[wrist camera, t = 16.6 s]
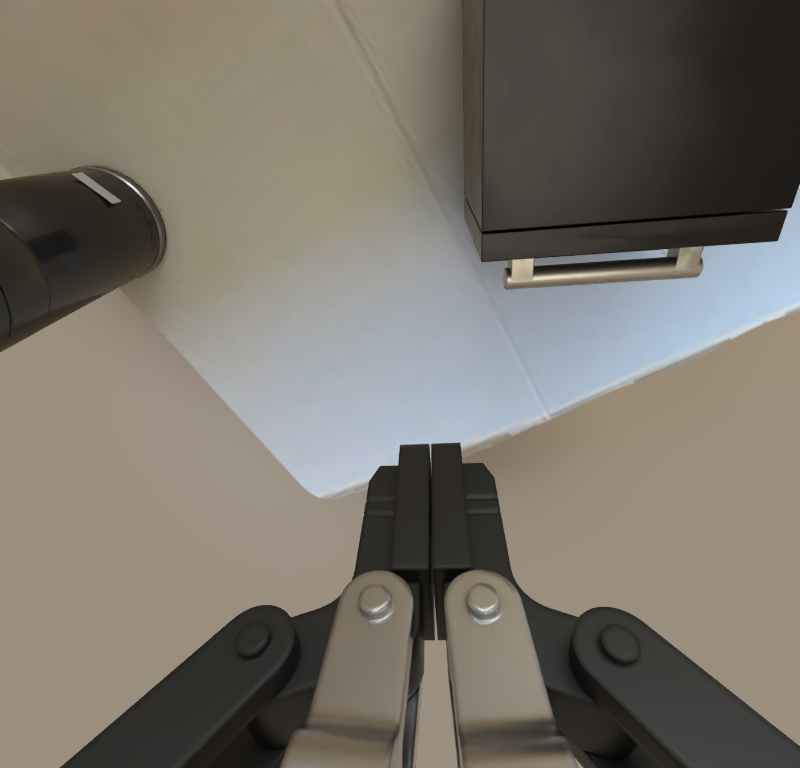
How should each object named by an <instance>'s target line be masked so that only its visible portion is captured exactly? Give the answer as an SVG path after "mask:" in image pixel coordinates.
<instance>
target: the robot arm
mask: <svg viewBox="0 0 800 768" xmlns="http://www.w3.org/2000/svg"><path fill="white" fill-rule="evenodd" d="M165 245H166V235H165V229H164V225H163V221H162V219H161V216H160V214H159V212H158V210H157V208H156V206H155V205H154V203H153V202H152V200H151V199H150V197H149V196H148V195H147V194H146V193H145V192H144V190H143V189H142V188H140V187H139V186H138V185H137V184H136V183H135V182H134V181H132V180H131V179H129V178H128V177H126V176H125V175H123V174H121V173H119V172H117V171H115V170H112V169H109V168H105V167H100V166H86V167H79V168H75V169H72V170H69V171H62V172H53V173H46V174H40V175H33V176H26V177H19V178H12V179H6V180H0V352H1V351H3V350H5V349H7V348H9V347H11V346H13V345H14V344H16V343H18V342H20V341H22V340H23V339H25V338H27V337H29V336H31V335H33V334H34V333H36V332H38V331H39V330H41V329H43V328H45V327H47V326H48V325H50V324H52V323H54V322H56V321H58V320H59V319H61V318H63V317H65V316H67V315H68V314H70V313H72V312H74V311H76V310H78V309H80V308H81V307H83V306H85V305H87V304H88V303H91V302H92V301H94V300H96V299H98V298H100V297H102V296H103V295H105V294H107V293H109V292H111V291H113V290H114V289H116V288H118V287H120V286H122V285H124V284H126V283H127V282H129V281H131V280H133V279H135V278H138V277H141V276H143V275H145V274H146V273H148V272H150V271H151V270H153V269H154V268H155V267H156V266H157V265H158V264H159V262H160V261H161V259H162V257H163V254H164V251H165ZM431 460H432V477H431V462H430V448H429V444H414V445H400V452H399V464H398V466H380V467H379V468H378V470H377V471H376V473H375V474H374V475H373V477H372V478H371V480H370V481H369V487H368V493H367V502H366V505H365V511H364V517H363V524H362V530H361V536H360V542H359V548H358V554H357V561H356V567H355V572H354V576H353V578H352V581H351V582H350V583H349V584H348V585H347V586H346V588H345V589H344V590H343V592H342V594H341V595H340V596H339V597H338V598H337V599H336V600H334V601H333V602H332V603H330V604H328V605H326V606H324V607H322V608H319V609H316V610H313V611H310V612H307V613H304V614H301V615H298V616H295V617H292V618H291V617H290V616H289V615H288V613H287V612H285V611H284V610H283V609H281V608H279V607H276V606H272V605H262V606H257V607H253V608H250V609H248V610H246V611H244V612H243V613H241V614H239V615H238V616H236V617H235V618H234V619H233V620H231V621H230V622H229V623H228V624H227V625H226V626H225V627H223V628H222V629H221V630H220V631H219V632H218V633H216V634H215V635H214V636H213V637H212V638H211V639H210V640H208V641H207V642H206V643H205V644H204V645H202V646H201V647H200V648H199V649H198V650H197V651H195V652H194V653H193V654H192V655H191V656H190V657H188V658H187V659H186V660H185V661H184V662H183V663H181V664H180V665H179V666H178V667H177V668H176V669H174V670H173V671H172V672H171V673H170V674H169V675H167V676H166V677H165V678H164V679H163V680H162V681H160V682H159V683H158V684H157V685H156V686H155V687H154V688H152V689H151V690H150V691H149V692H148V693H147V694H146V695H144V696H143V697H142V698H141V699H139V701H137V702H136V703H135V704H134V705H133V706H131V707H130V708H129V709H128V710H127V711H126V712H124V713H123V714H122V715H121V716H120V717H119V718H117V719H116V720H115V721H114V722H113V723H112V724H110V725H109V726H108V727H107V728H106V729H105V730H104V731H102V732H101V733H100V734H99V735H98V736H96V737H95V738H94V739H93V740H92V741H91V742H89V743H88V744H87V745H86V746H85V747H84V748H83V749H81V750H80V751H79V752H78V753H77V754H75V755H74V756H73V757H72V758H71V759H70V760H69V761H67V762H66V763H65V764H64V765H63V766H62V767H60V768H416V757H417V745H418V732H419V720H420V707H421V694H422V678H423V674H424V640H435V626H434V625H435V622H434V595H435V608H436V621H437V634H438V640H446V645H447V661H448V676H449V677H448V678H449V690H450V699H451V710H452V719H453V729H454V738H455V748H456V757H457V767H458V768H578V766H577V763H576V760H575V758H576V759H577V761H578V762H579V763H580V764H581V765H582V766H583V767H584V768H800V746H799V745H797V744H796V743H795V742H794V741H792V740H791V739H790V738H788V737H787V736H786V735H785V734H784V733H782V732H781V731H780V730H778V729H777V728H776V727H775V726H773V725H772V724H771V723H769V722H768V721H767V720H766V719H765V718H763V717H762V716H761V715H760V714H758V713H757V712H756V711H754V710H753V709H752V708H751V707H749V706H748V705H747V704H746V703H745V702H743V701H742V700H741V699H739V698H738V697H737V696H736V695H734V694H733V693H732V692H731V691H729V690H728V689H727V688H726V687H724V686H723V685H721V683H719V682H718V681H717V680H715V679H714V678H713V677H712V676H710V675H709V674H708V673H707V672H705V671H704V670H703V669H702V668H700V667H699V666H698V665H697V664H695V663H694V662H693V661H692V660H690V659H689V658H688V657H687V656H685V655H684V654H683V653H682V652H680V651H679V650H678V649H677V648H675V647H674V646H673V645H671V644H670V643H669V642H668V641H667V640H665V639H664V638H663V637H662V636H660V635H659V634H658V633H656V632H655V631H654V630H653V629H651V628H650V627H649V626H648V625H646V624H645V623H644V622H642V621H641V620H640V619H638V618H637V617H635V616H633V615H632V614H630V613H628V612H625V611H622V610H620V609H616V608H612V607H597V608H592V609H590V610H588V611H586V612H584V613H583V614H582V615H581V616H580V617H576V616H573V615H569V614H566V613H563V612H560V611H557V610H553V609H550V608H548V607H545V606H543V605H541V604H539V603H537V602H535V601H534V600H532V599H531V598H530V597H529V596H528V595H526V594H525V593H524V592H523V591H522V589H521V588H520V587H519V586H518V584H517V583H516V581H515V579H514V577H513V575H512V571H511V567H510V562H509V556H508V551H507V545H506V539H505V534H504V529H503V523H502V518H501V513H500V506H499V501H498V497H497V490H496V485H495V479H494V477H493V475H492V474H491V473H490V472H489V470H488V469H487V468H486V467H485V465H484V464H483V463H467V464H462V455H461V445H460V443H440V444H431Z"/></svg>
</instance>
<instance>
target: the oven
mask: <svg viewBox="0 0 800 768" xmlns="http://www.w3.org/2000/svg"><path fill="white" fill-rule="evenodd" d="M462 30H463V118H464V194H465V196H466V198H467V200H468V202H469V205H470V207H471V209H472V211H473V213H474V215H475V217H476V219H477V222H478V224H479V226H480V228H481V230H482V232H487V231H500V230H513V229H526V228H539V227H552V226H565V225H578V224H591V223H604V222H617V221H630V220H643V219H656V218H669V217H682V216H695V215H708V214H721V213H734V212H747V211H760V210H773V209H786V208H791V207H792V205H793V202H794V199H795V196H796V193H797V190H798V187H799V184H800V0H462Z"/></svg>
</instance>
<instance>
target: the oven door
mask: <svg viewBox="0 0 800 768" xmlns="http://www.w3.org/2000/svg"><path fill="white" fill-rule="evenodd" d="M787 212H788V211H787V210H783V209H773V210H760V211H747V212H734V213H721V214H708V215H695V216H682V217H669V218H656V219H643V220H630V221H617V222H604V223H591V224H578V225H565V226H552V227H539V228H526V229H513V230H500V231H487V232H482V230H481V228H480V226H479V224H478V222H477V219H476V217H475V215H474V213H473V211H472V209H471V207H470V205H469V202H468V200H467V198H465V220H466V222H467V225H468V227H469V230H470V233H471V235H472V238H473V241H474V243H475V246H476V249H477V251H478V254H479V256H480V259H481V262H489V261H504V260H508V268H505V269H504V275H503V282H504V288H505V289H506V290H508V289H523V288H539V287H554V286H570V285H585V284H601V283H616V282H631V281H647V280H662V279H678V278H693V277H698V276H699V275H700V274H701V272H702V269H703V260H702V258H701V254H702V250H703V246H716V245H730V244H744V243H758V242H773V241H778V239H779V236H780V233H781V230H782V227H783V224H784V221H785V218H786V215H787ZM659 249H668V253H667V257H660V258H645V259H631V260H616V261H602V262H587V263H573V264H558V265H544V266H534V258H546V257H560V256H574V255H589V254H603V253H617V252H631V251H645V250H659Z"/></svg>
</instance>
